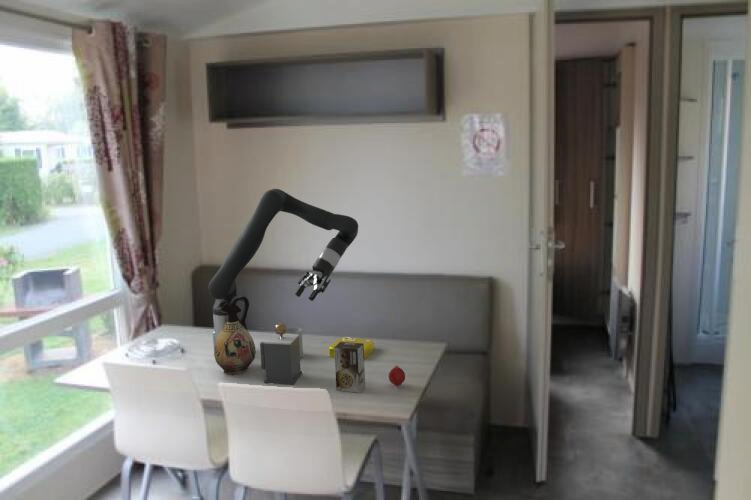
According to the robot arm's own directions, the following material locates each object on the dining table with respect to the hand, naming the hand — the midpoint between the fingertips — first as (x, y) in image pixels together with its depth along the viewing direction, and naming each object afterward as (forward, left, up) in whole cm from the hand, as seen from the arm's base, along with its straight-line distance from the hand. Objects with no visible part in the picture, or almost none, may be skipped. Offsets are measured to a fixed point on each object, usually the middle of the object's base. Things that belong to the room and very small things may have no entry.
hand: (303, 297), depth 245 cm
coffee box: (+21, -14, -29) cm, 38 cm away
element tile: (+12, +22, -29) cm, 39 cm away
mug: (-12, +16, -29) cm, 35 cm away
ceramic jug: (-26, -3, -29) cm, 39 cm away
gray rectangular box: (-8, -8, -29) cm, 31 cm away
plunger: (-6, -8, -27) cm, 29 cm away
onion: (+37, -10, -29) cm, 48 cm away
